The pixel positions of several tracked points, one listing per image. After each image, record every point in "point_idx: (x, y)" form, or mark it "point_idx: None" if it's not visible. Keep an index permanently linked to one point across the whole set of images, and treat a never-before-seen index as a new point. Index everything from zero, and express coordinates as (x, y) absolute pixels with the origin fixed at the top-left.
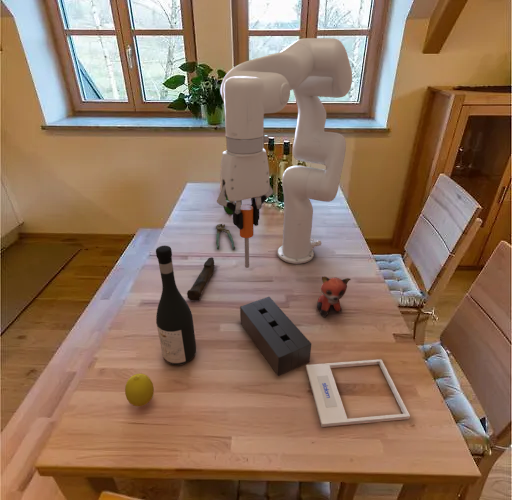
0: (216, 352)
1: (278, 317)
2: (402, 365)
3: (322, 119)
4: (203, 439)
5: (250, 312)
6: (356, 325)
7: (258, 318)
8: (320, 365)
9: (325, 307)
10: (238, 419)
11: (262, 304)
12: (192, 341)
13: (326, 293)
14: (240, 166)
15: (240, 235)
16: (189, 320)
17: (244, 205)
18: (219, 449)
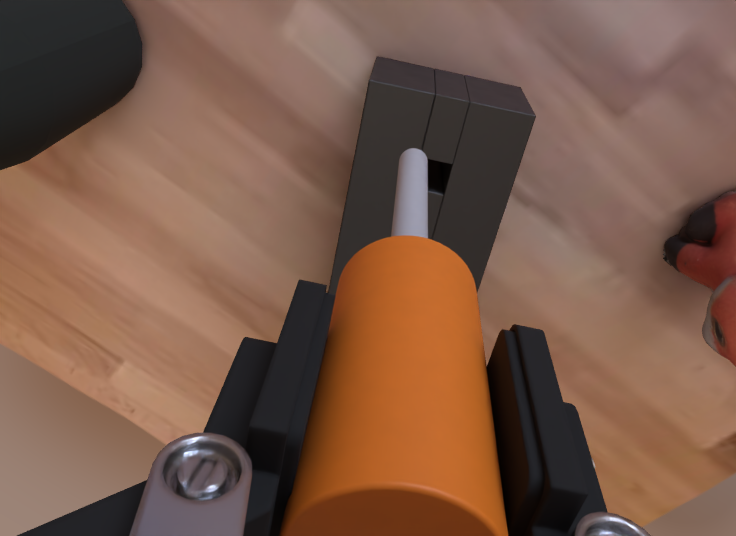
0: (210, 123)
1: (454, 246)
2: (623, 491)
3: None
4: (60, 327)
5: (381, 146)
6: (700, 347)
7: (383, 198)
8: None
9: (687, 273)
10: (158, 342)
11: (463, 141)
12: (84, 124)
13: (712, 317)
14: None
15: (336, 291)
16: (20, 161)
17: (422, 517)
18: (86, 364)
